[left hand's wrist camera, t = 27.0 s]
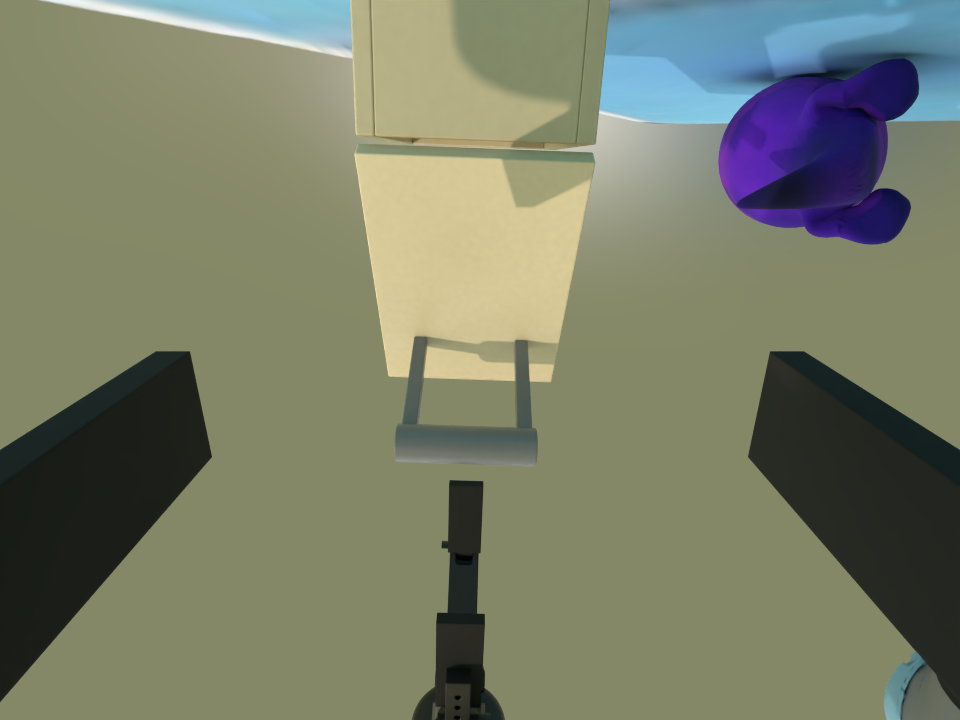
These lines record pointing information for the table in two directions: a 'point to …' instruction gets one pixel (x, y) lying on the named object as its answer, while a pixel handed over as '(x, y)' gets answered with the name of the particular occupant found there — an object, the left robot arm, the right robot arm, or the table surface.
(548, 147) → the chest
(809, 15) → the table surface
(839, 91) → the toy
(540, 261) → the beige boxy piece
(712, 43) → the table surface
